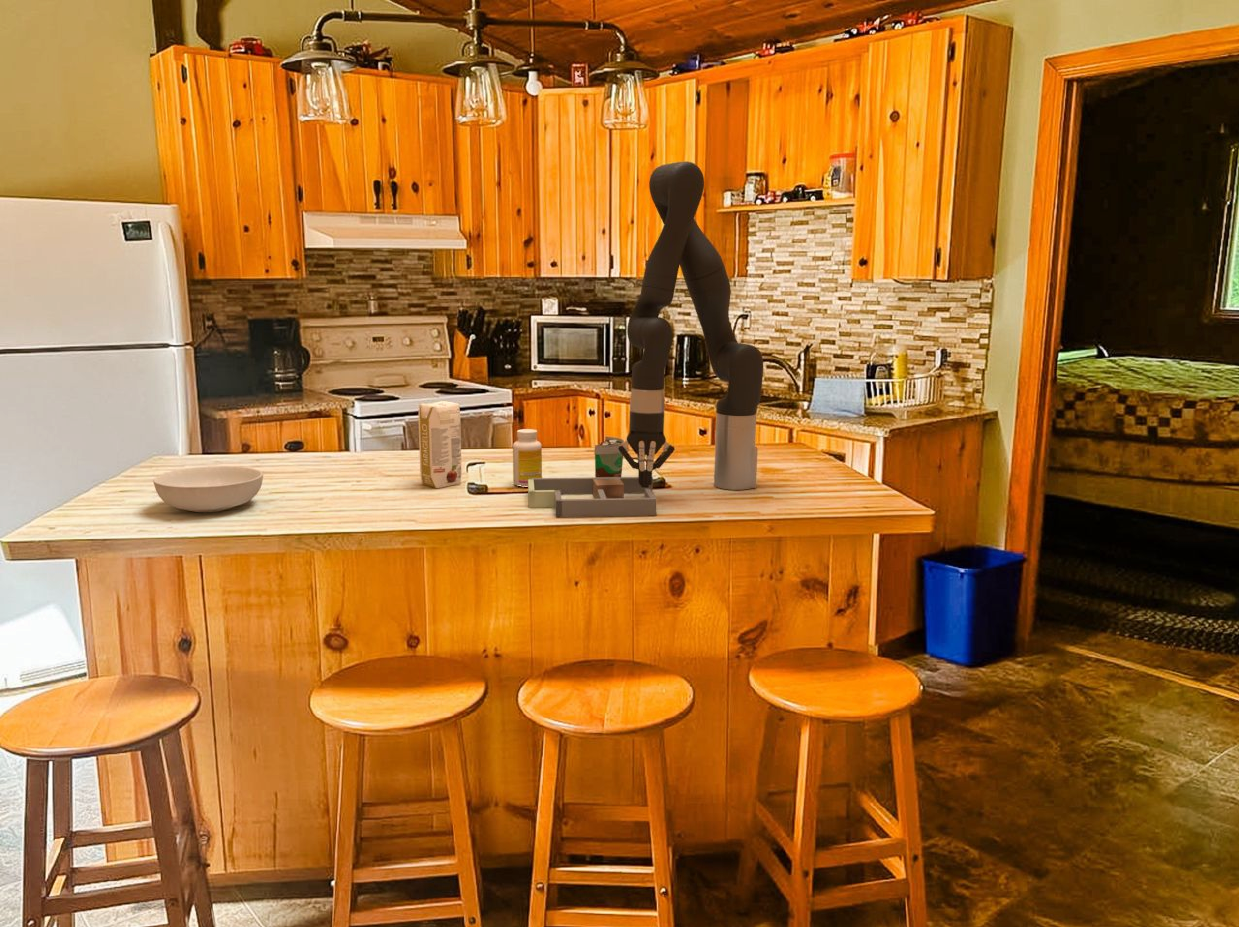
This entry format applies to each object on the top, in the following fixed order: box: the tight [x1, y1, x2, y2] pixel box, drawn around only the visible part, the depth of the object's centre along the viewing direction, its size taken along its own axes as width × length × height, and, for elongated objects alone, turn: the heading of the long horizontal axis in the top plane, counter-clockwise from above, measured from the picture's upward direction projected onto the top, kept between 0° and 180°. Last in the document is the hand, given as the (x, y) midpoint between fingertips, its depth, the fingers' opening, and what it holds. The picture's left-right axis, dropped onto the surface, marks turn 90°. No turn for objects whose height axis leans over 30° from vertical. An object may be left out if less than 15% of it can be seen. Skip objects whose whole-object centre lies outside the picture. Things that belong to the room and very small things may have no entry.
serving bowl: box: [153, 465, 264, 513], centre depth 198 cm, size 21×21×7 cm
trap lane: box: [527, 476, 658, 518], centre depth 204 cm, size 28×21×4 cm
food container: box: [593, 436, 625, 477], centre depth 223 cm, size 12×6×10 cm, turn 168°
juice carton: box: [417, 400, 462, 489], centre depth 219 cm, size 8×9×19 cm
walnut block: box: [592, 478, 625, 499], centre depth 209 cm, size 6×6×4 cm
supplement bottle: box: [512, 428, 543, 486], centre depth 220 cm, size 7×7×13 cm
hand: (644, 486), depth 210 cm, fingers closed
